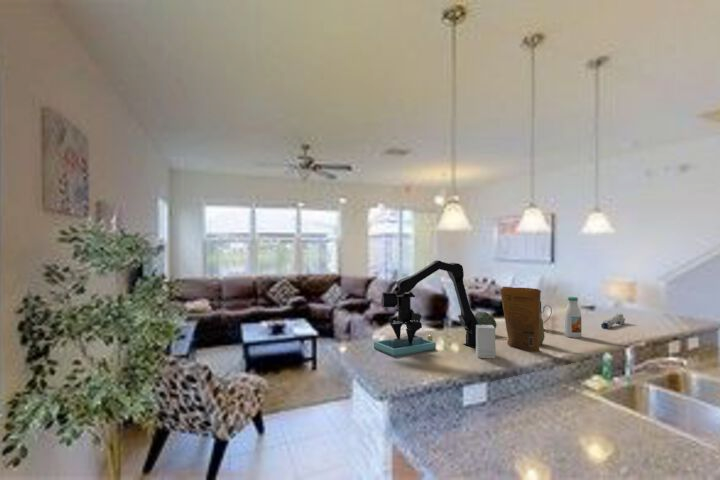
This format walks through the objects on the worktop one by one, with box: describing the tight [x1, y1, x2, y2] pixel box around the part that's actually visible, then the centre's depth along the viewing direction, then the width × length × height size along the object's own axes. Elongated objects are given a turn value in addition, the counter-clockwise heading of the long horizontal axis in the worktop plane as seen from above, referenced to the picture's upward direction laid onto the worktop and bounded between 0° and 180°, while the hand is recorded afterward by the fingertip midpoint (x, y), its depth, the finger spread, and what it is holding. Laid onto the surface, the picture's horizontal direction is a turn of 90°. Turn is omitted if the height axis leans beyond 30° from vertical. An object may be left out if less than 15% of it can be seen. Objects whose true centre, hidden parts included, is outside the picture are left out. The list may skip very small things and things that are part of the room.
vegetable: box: [474, 311, 497, 330], centre depth 221 cm, size 12×13×15 cm
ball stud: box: [427, 334, 433, 342], centre depth 202 cm, size 2×2×4 cm
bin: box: [373, 336, 437, 357], centre depth 191 cm, size 16×23×3 cm
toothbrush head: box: [600, 312, 626, 330], centre depth 238 cm, size 5×7×25 cm
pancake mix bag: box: [499, 286, 542, 353], centre depth 191 cm, size 7×19×28 cm, turn 36°
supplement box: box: [475, 325, 496, 359], centre depth 179 cm, size 7×7×13 cm
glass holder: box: [540, 300, 553, 324], centre depth 230 cm, size 9×14×15 cm, turn 43°
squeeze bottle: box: [538, 314, 546, 346], centre depth 198 cm, size 8×8×18 cm
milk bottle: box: [563, 296, 582, 339], centre depth 213 cm, size 8×8×20 cm
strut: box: [388, 334, 424, 349], centre depth 191 cm, size 16×6×4 cm, turn 120°
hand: (404, 341), depth 191 cm, fingers open, 9 cm apart
